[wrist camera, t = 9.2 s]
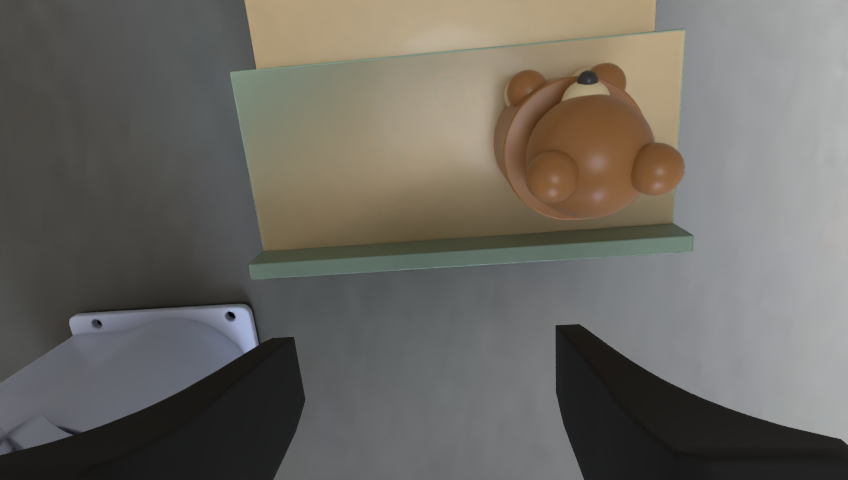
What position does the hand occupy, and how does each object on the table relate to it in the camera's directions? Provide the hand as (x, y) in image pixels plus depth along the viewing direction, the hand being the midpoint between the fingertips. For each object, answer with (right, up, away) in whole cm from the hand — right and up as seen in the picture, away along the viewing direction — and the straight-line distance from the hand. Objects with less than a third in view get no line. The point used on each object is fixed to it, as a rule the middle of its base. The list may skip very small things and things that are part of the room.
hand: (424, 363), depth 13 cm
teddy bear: (+4, +7, +3) cm, 9 cm away
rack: (+1, +11, +8) cm, 13 cm away
